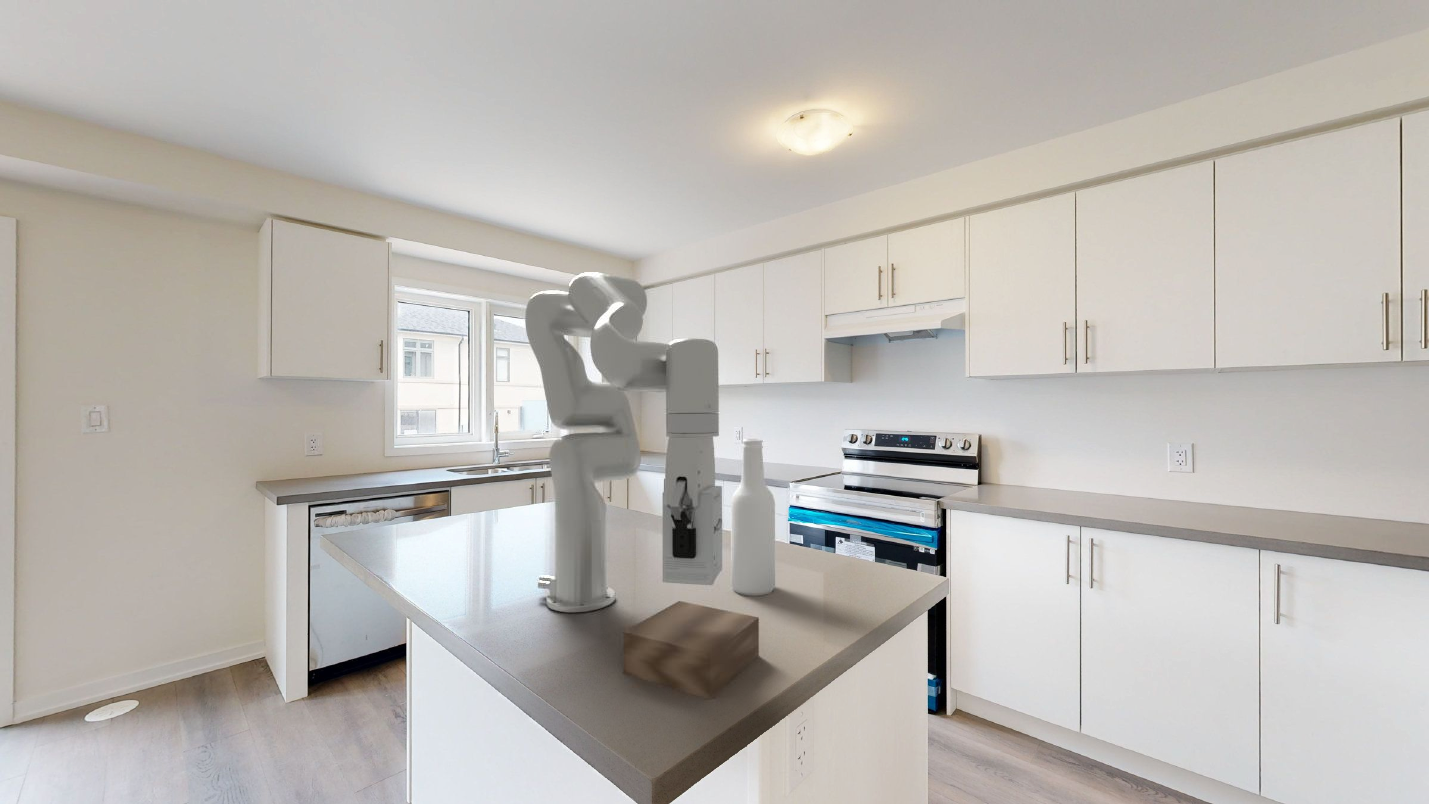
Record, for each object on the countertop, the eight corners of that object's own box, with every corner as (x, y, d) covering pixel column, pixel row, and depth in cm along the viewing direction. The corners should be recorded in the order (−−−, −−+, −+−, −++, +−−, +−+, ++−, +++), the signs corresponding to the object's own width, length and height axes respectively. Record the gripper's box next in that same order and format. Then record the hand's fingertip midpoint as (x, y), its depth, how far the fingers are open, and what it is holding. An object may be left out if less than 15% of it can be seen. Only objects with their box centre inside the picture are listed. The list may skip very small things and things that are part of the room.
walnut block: (623, 675, 77) (623, 631, 77) (679, 638, 89) (679, 600, 89) (711, 702, 70) (710, 654, 70) (758, 658, 82) (758, 617, 82)
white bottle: (746, 579, 118) (745, 437, 118) (783, 587, 113) (782, 439, 113) (722, 591, 111) (722, 439, 111) (761, 599, 106) (760, 441, 106)
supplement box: (713, 586, 75) (713, 492, 75) (661, 583, 77) (660, 491, 77) (724, 570, 82) (723, 484, 82) (675, 568, 84) (675, 483, 84)
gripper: (686, 424, 89) (687, 535, 89) (644, 428, 72) (645, 565, 72) (732, 424, 87) (733, 537, 87) (700, 428, 70) (701, 569, 70)
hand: (693, 549), depth 80 cm, fingers closed on supplement box, 7 cm apart
